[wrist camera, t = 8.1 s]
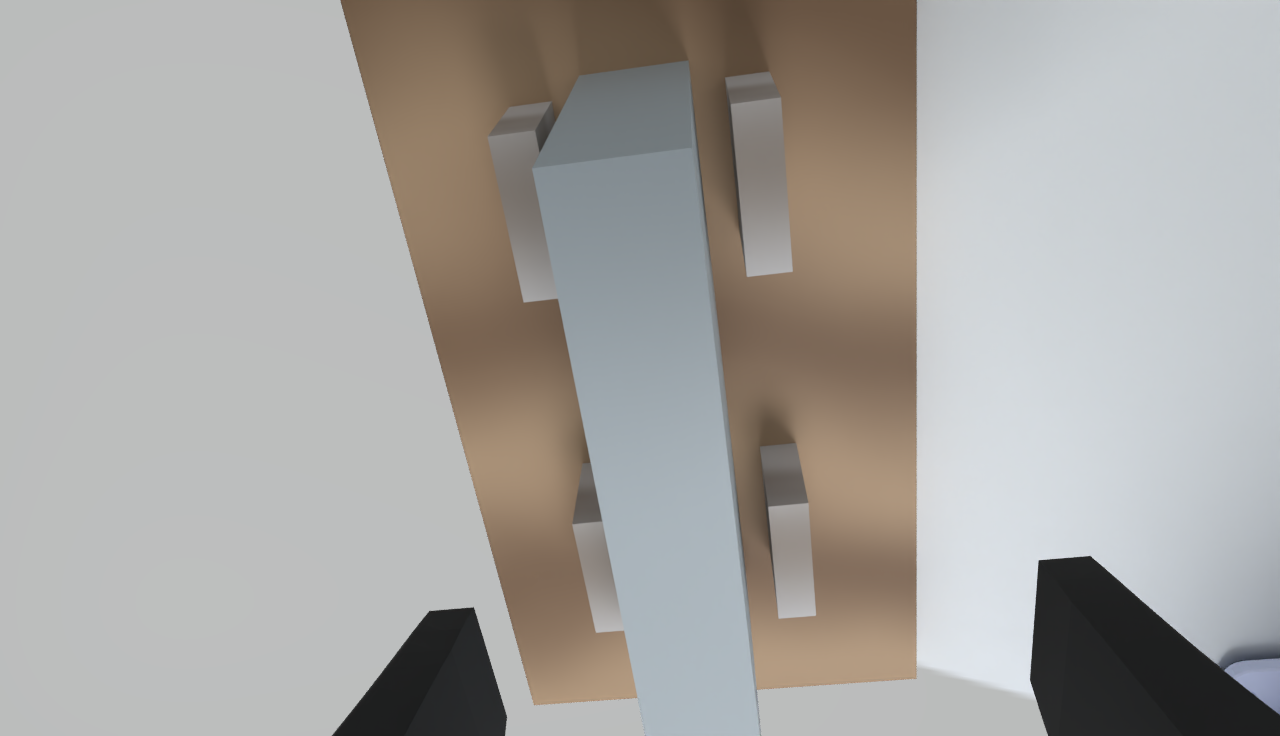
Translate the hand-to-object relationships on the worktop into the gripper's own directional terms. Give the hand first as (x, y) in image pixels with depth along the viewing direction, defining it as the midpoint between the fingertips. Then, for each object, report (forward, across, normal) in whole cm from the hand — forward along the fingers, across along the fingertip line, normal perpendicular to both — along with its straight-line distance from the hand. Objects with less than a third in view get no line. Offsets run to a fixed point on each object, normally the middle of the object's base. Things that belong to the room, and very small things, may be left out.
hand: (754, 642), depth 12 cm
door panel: (+8, +1, 0) cm, 8 cm away
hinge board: (+9, +1, 0) cm, 9 cm away
